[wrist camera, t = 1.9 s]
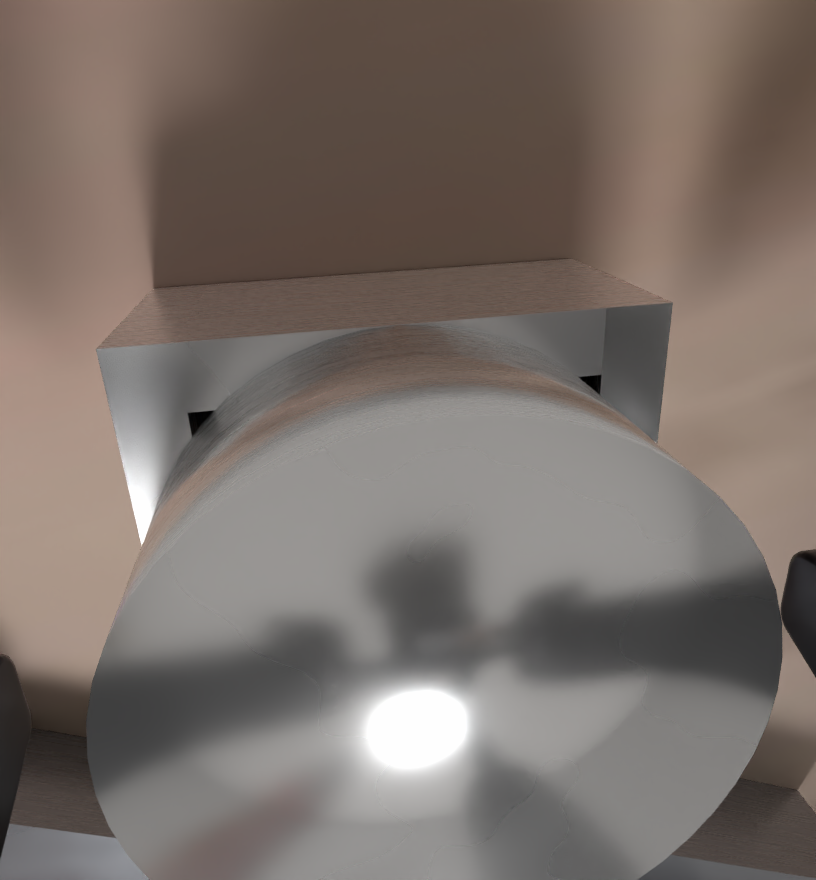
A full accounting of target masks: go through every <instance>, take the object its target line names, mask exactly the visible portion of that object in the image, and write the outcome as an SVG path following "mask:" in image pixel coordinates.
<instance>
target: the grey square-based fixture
mask: <svg viewBox="0 0 816 880" xmlns="http://www.w3.org/2000/svg"><path fill="white" fill-rule="evenodd" d="M672 305H673V303H672V302H670V301H668V300H666V299H663V298H661V297H659V296H656V295H654V294H652V293H650V292H647V291H645V290H643V289H641V288H638V287H636V286H634V285H631V284H629V283H627V282H625V281H622V280H620V279H618V278H616V277H613V276H611V275H609V274H606V273H604V272H602V271H600V270H597V269H595V268H593V267H591V266H588V265H586V264H584V263H581V262H579V261H577V260H575V259H561V260H547V261H533V262H519V263H505V264H491V265H477V266H463V267H449V268H435V269H421V270H407V271H392V272H378V273H364V274H350V275H336V276H322V277H308V278H294V279H280V280H266V281H252V282H238V283H224V284H210V285H196V286H182V287H168V288H154V289H152V290H151V291H150V292H149V293H148V294H147V295H146V296H145V297H144V298H143V299H142V301H141V302H140V303H139V304H138V305H137V306H136V307H135V308H134V309H133V310H132V311H131V312H130V313H129V314H128V315H127V317H126V318H125V319H124V320H123V321H122V322H121V323H120V324H119V325H118V326H117V327H116V328H115V329H114V330H113V331H112V333H111V334H110V335H109V336H108V337H107V338H106V339H105V340H104V341H103V342H102V343H101V344H100V345H99V346H98V347H97V349H96V351H97V355H98V360H99V364H100V368H101V373H102V377H103V381H104V386H105V390H106V394H107V398H108V403H109V407H110V411H111V416H112V420H113V424H114V429H115V433H116V437H117V441H118V446H119V450H120V454H121V459H122V463H123V467H124V472H125V476H126V480H127V484H128V489H129V493H130V497H131V502H132V506H133V510H134V514H135V519H136V523H137V527H138V532H139V536H140V540H141V545H142V547H141V549H140V552H139V554H138V557H137V560H136V562H135V565H134V568H133V570H132V573H131V576H130V578H129V581H128V584H127V586H126V589H125V592H124V594H123V597H122V600H121V602H120V605H119V608H118V610H117V613H116V616H115V618H114V621H113V624H112V626H111V629H110V632H109V634H108V637H107V640H106V643H105V646H104V648H103V651H102V654H101V657H100V660H99V663H98V666H97V669H96V672H95V675H94V678H93V681H92V687H91V693H90V700H89V706H88V713H87V719H86V727H87V759H88V763H89V768H90V772H91V777H92V782H93V786H94V791H95V795H96V797H97V799H98V802H99V804H100V807H101V809H102V811H103V814H104V816H105V818H106V821H107V823H108V826H109V827H110V829H111V831H112V832H113V834H114V835H115V837H116V838H117V840H118V841H119V843H120V845H121V846H122V848H123V849H124V851H125V852H126V854H127V855H128V857H129V858H130V859H131V860H132V861H133V862H134V863H135V864H136V865H137V867H138V868H139V869H140V870H141V871H142V872H143V873H144V874H145V875H146V876H147V878H148V879H149V880H638V879H639V878H641V877H642V876H643V875H645V874H646V873H647V872H649V871H650V870H652V869H653V868H654V867H656V866H657V865H658V864H660V863H661V862H663V861H664V860H665V859H666V858H667V857H668V856H669V855H671V854H672V853H673V852H674V851H675V850H676V849H677V848H679V847H680V846H681V845H682V844H683V843H684V842H685V841H687V840H688V839H689V838H690V837H691V836H692V835H693V834H694V833H695V832H696V831H697V829H698V828H699V827H700V826H701V825H702V824H703V823H704V822H705V821H706V820H707V819H708V818H709V817H710V816H711V815H712V814H713V813H714V811H715V810H716V809H717V808H718V806H719V805H720V804H721V802H722V801H723V800H724V798H725V797H726V796H727V795H728V793H729V792H730V791H731V789H732V788H733V787H734V785H735V784H736V783H737V781H738V779H739V778H740V776H741V774H742V773H743V771H744V769H745V768H746V766H747V764H748V763H749V761H750V759H751V758H752V756H753V754H754V752H755V750H756V748H757V746H758V743H759V741H760V739H761V737H762V735H763V732H764V730H765V728H766V726H767V723H768V720H769V717H770V714H771V710H772V707H773V704H774V700H775V697H776V694H777V690H778V683H779V676H780V670H781V663H782V621H781V616H780V610H779V605H778V599H777V594H776V589H775V586H774V584H773V581H772V578H771V576H770V573H769V570H768V568H767V565H766V562H765V560H764V557H763V555H762V554H761V552H760V550H759V549H758V547H757V545H756V544H755V542H754V540H753V539H752V537H751V535H750V534H749V532H748V530H747V529H746V527H745V525H744V524H743V523H742V522H741V521H740V520H739V518H738V517H737V516H736V515H735V514H734V513H733V512H732V510H731V509H730V508H729V507H728V506H727V505H726V504H725V502H724V501H723V500H722V499H721V498H720V497H719V496H718V495H717V494H716V493H715V492H713V491H712V490H711V489H710V488H709V487H708V486H706V485H705V484H704V483H703V482H702V481H701V480H699V479H698V478H697V477H696V476H695V475H693V474H692V473H691V472H690V471H689V470H688V469H686V468H685V467H684V466H683V465H682V464H680V463H679V462H678V461H677V460H676V459H675V458H673V457H672V456H671V455H670V454H669V453H668V452H666V451H665V450H664V449H663V448H662V447H660V446H659V445H658V444H657V440H658V431H659V422H660V413H661V404H662V395H663V386H664V377H665V368H666V359H667V350H668V341H669V332H670V323H671V314H672Z"/></svg>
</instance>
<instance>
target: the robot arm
mask: <svg viewBox="0 0 816 880" xmlns="http://www.w3.org/2000/svg"><path fill="white" fill-rule="evenodd" d="M781 617H782V621H783V623H784V626H785V628H786V630H787V632H788V633H789V635H790V637H791V638H792V640H793V641H794V643H795V645H796V646H797V648H798V649H799V651H800V653H801V654H802V656H803V658H804V659H805V661H806V662H807V664H808V666H809V667H810V669H811V671H812V672H813V674H814V675H815V677H816V549H813V550H806V551H800V552H798V553H796V554H795V555H794V556H793V557H792V559H791V561H790V564H789V569H788V574H787V578H786V583H785V588H784V593H783V598H782V602H781ZM31 726H32V723H31V713H30V709H29V706H28V703H27V700H26V697H25V694H24V691H23V689H22V686H21V683H20V680H19V677H18V674H17V671H16V669H15V666H14V664H13V662H12V660H11V659H10V658H9V657H8V656H6V655H4V654H0V860H1V856H2V852H3V848H4V844H5V840H6V836H7V831H8V827H9V823H10V819H11V815H12V810H13V806H14V802H15V798H16V794H17V789H18V785H19V781H20V777H21V773H22V768H23V764H24V760H25V756H26V752H27V747H28V743H29V739H30V734H31Z"/></svg>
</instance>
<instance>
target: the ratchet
mask: <svg viewBox="0 0 816 880" xmlns="http://www.w3.org/2000/svg"><path fill="white" fill-rule="evenodd" d="M0 880H149V879H148V878H147V876H146V875H145V874H144V873H143V872H142V871H141V870H140V869H139V868H138V867H137V865H136V864H135V863H134V862H133V861H132V860H131V859H130V858H129V857H128V855H127V854H126V852H125V851H124V849H123V848H122V846H121V845H120V843H119V841H118V840H117V838H116V837H115V835H114V834H113V832H112V831H111V829H110V827H109V826H108V823H107V821H106V818H105V816H104V814H103V811H102V809H101V807H100V804H99V802H98V799H97V797H96V795H95V791H94V786H93V782H92V777H91V772H90V768H89V763H88V759H87V738H86V737H81V736H75V735H69V734H63V733H57V732H52V731H46V730H40V729H34V728H31V734H30V739H29V743H28V747H27V752H26V756H25V760H24V764H23V768H22V773H21V777H20V781H19V785H18V789H17V794H16V798H15V802H14V806H13V810H12V815H11V819H10V823H9V827H8V831H7V836H6V840H5V844H4V848H3V852H2V856H1V860H0ZM638 880H816V814H815V813H814V811H813V810H812V809H811V807H810V806H809V805H808V803H807V802H806V801H805V800H804V798H803V797H802V796H801V794H800V793H799V792H798V790H794V789H789V788H784V787H779V786H775V785H770V784H765V783H760V782H755V781H751V780H746V779H741V778H739V779H738V781H737V783H736V784H735V785H734V787H733V788H732V789H731V791H730V792H729V793H728V795H727V796H726V797H725V798H724V800H723V801H722V802H721V804H720V805H719V806H718V808H717V809H716V810H715V811H714V813H713V814H712V815H711V816H710V817H709V818H708V819H707V820H706V821H705V822H704V823H703V824H702V825H701V826H700V827H699V828H698V829H697V831H696V832H695V833H694V834H693V835H692V836H691V837H690V838H689V839H688V840H687V841H685V842H684V843H683V844H682V845H681V846H680V847H679V848H677V849H676V850H675V851H674V852H673V853H672V854H671V855H669V856H668V857H667V858H666V859H665V860H664V861H663V862H661V863H660V864H658V865H657V866H656V867H654V868H653V869H652V870H650V871H649V872H647V873H646V874H645V875H643V876H642V877H641V878H639V879H638Z"/></svg>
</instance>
